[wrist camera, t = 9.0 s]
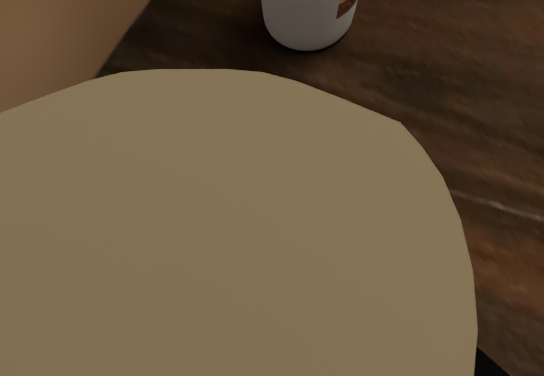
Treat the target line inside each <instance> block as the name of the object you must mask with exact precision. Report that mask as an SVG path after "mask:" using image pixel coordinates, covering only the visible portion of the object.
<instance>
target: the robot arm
mask: <svg viewBox="0 0 544 376" xmlns="http://www.w3.org/2000/svg"><path fill="white" fill-rule="evenodd" d="M474 376H510V375H509V374H508V373H507V372H505V371H504V370H503V369H502V368H501V367H500V366H498V365H497V364H496V363H495V362H494V361H493V360H492V359H490V358H489V357H488V356H487V355H486V354H485V353H483V352H482V351H481V350H480V349H479V348H478V347H477V346H476V355H475V368H474Z"/></svg>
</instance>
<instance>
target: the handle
mask: <svg viewBox="0 0 544 376" xmlns="http://www.w3.org/2000/svg"><path fill="white" fill-rule="evenodd" d="M477 331H478V328H477V315H476V303H475V291H474V278H473V270H472V265H471V261H470V257H469V253H468V249H467V245H466V241H465V236H464V232H463V228H462V224H461V220H460V217H459V215H458V212H457V210H456V208H455V205H454V203H453V201H452V198H451V196H450V193H449V191H448V189H447V186H446V184H445V181H444V179H443V177H442V175H441V174H440V173H439V171H438V170H437V168H436V167H435V165H434V164H433V162H432V161H431V159H430V158H429V156H428V155H427V154H426V152H425V151H424V149H423V148H422V146H421V145H420V144H419V143H418V142H417V141H416V140H415V139H414V137H413V136H412V135H411V134H410V133H409V132H408V131H407V130H406V128H405V127H404V126H403V125H402V124H401V123H400V122H398V121H395V120H393V119H390V118H388V117H385V116H383V115H381V114H378V113H376V112H373V111H371V110H368V109H366V108H364V107H361V106H359V105H356V104H354V103H351V102H349V101H347V100H344V99H342V98H339V97H337V96H334V95H331V94H329V93H326V92H323V91H321V90H318V89H316V88H313V87H310V86H308V85H305V84H303V83H300V82H297V81H294V80H290V79H286V78H282V77H279V76H275V75H271V74H268V73H264V72H254V71H243V70H231V69H154V70H143V71H132V72H121V73H117V74H113V75H109V76H105V77H101V78H98V79H94V80H90V81H86V82H83V83H81V84H78V85H75V86H72V87H69V88H66V89H64V90H61V91H58V92H55V93H52V94H49V95H47V96H44V97H41V98H39V99H36V100H33V101H31V102H28V103H26V104H23V105H20V106H18V107H15V108H12V109H9V110H7V111H4V112H2V113H0V376H474V368H475V355H476V343H477Z"/></svg>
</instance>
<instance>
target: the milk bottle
mask: <svg viewBox="0 0 544 376" xmlns="http://www.w3.org/2000/svg"><path fill="white" fill-rule="evenodd" d="M357 1H358V0H262V9H263V16H264V22H265V25H266V27H267V29H268V31H269V32H270V34H271V35H272V37H273V38H274V39H275V40H276V41H278V42H279V43H280V44H282V45H284V46H286V47H288V48H290V49H295V50H300V51H314V50H318V49H323V48H325V47H327V46H330V45H332V44H333V43H335V42H336V41H338V40H339V39H340V38H341V37H342V36H343V35H344V34H345V32H346V31H347V30H348V28H349V27H350V24H351V22H352V19H353V15H354V12H355V8H356V4H357Z"/></svg>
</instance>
